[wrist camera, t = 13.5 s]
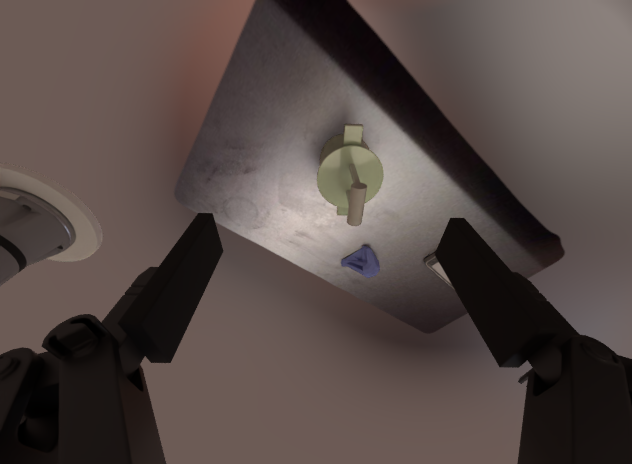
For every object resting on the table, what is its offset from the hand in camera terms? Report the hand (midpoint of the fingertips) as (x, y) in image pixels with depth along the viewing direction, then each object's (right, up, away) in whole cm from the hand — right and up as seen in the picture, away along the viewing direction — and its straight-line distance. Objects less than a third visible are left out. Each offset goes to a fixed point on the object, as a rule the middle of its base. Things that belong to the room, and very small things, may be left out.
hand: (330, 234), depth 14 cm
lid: (+4, +8, +21) cm, 22 cm away
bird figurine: (+9, -6, +41) cm, 42 cm away
